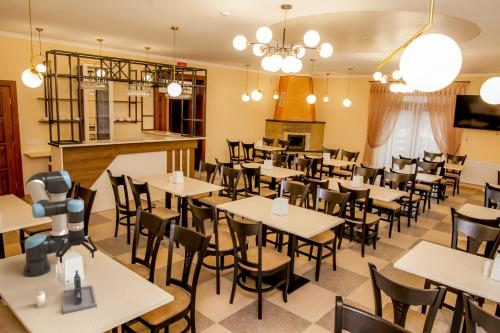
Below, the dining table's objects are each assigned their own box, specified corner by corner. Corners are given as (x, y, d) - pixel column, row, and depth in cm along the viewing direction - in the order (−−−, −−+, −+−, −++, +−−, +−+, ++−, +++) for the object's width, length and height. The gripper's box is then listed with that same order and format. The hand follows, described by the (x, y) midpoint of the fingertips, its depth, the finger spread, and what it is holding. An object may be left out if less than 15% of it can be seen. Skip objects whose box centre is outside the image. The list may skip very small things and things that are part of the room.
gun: (77, 267, 202) (80, 271, 189) (79, 296, 201) (82, 302, 188) (71, 268, 200) (74, 272, 188) (73, 297, 200) (76, 303, 187)
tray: (62, 293, 200) (61, 290, 199) (92, 287, 207) (92, 285, 207) (63, 314, 181) (63, 311, 181) (96, 306, 189) (96, 303, 188)
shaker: (37, 305, 188) (36, 290, 186) (45, 303, 190) (44, 288, 188) (36, 309, 184) (36, 294, 183) (45, 307, 186) (44, 292, 185)
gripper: (49, 234, 178) (51, 272, 182) (102, 228, 190) (102, 264, 194) (49, 229, 184) (51, 266, 188) (100, 223, 196) (101, 258, 200)
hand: (77, 265), depth 191 cm, fingers open, 13 cm apart
